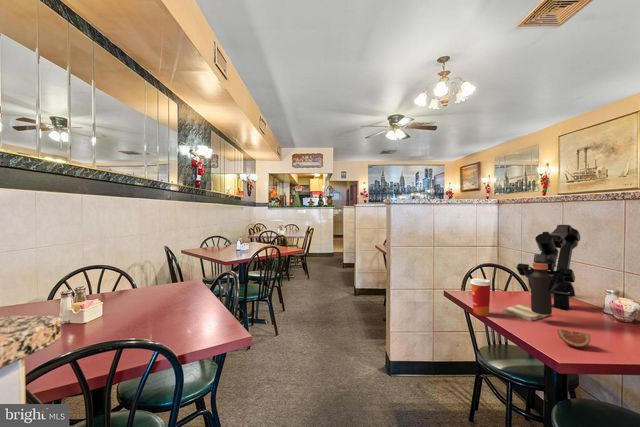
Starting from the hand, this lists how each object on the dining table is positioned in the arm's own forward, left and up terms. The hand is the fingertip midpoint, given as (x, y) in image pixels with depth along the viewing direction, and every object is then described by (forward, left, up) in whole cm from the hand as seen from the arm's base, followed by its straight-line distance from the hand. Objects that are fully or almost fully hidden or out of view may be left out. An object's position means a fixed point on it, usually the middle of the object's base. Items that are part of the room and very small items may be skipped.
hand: (540, 289), depth 117 cm
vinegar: (-1, 0, -10) cm, 10 cm away
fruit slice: (+12, +16, -14) cm, 25 cm away
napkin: (-6, -9, -14) cm, 17 cm away
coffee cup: (+11, -18, -14) cm, 25 cm away
